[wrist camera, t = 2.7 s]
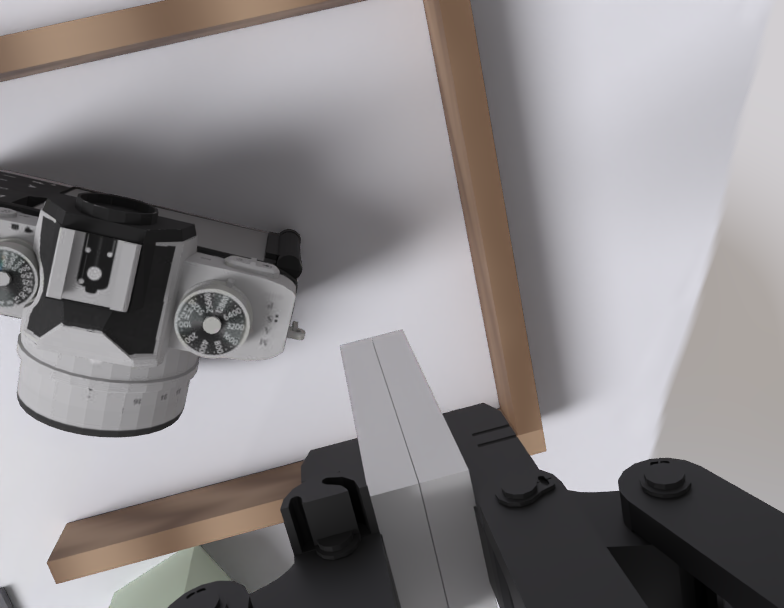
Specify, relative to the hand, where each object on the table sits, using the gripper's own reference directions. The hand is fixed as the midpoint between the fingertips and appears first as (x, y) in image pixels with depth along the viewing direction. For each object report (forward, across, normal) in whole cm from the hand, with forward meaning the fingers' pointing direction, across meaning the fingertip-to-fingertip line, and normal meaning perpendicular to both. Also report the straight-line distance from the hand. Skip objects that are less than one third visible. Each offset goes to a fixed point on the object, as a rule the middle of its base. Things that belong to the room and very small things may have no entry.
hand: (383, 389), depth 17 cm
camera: (+17, -9, +1) cm, 19 cm away
